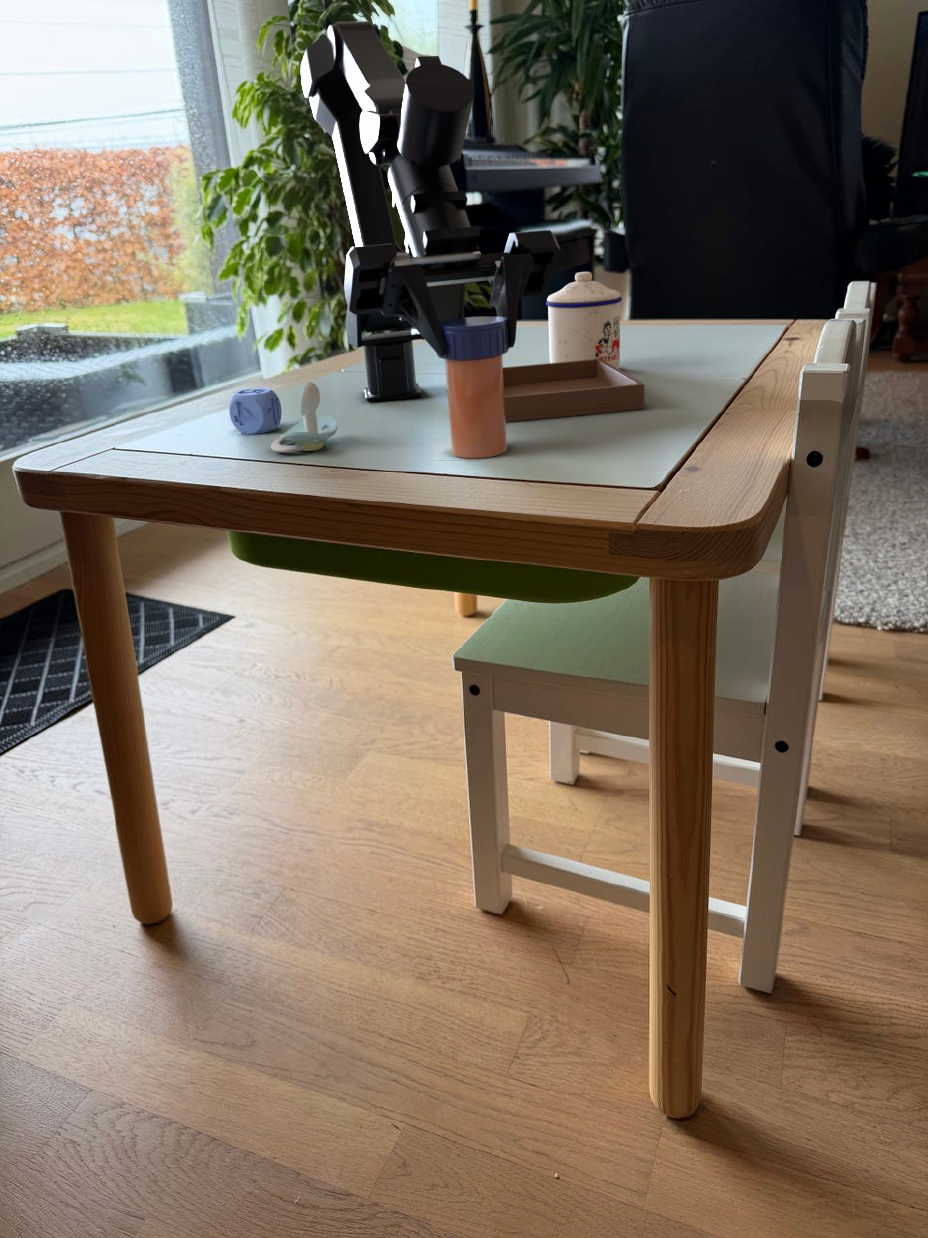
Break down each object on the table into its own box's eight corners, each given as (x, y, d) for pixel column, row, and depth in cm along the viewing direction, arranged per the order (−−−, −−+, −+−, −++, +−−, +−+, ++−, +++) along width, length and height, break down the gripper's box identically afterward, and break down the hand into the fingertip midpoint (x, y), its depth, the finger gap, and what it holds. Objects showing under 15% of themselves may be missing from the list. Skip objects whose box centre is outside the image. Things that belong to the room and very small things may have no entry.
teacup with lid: (609, 379, 112) (608, 275, 108) (537, 377, 116) (534, 277, 111) (636, 361, 122) (637, 265, 117) (570, 360, 126) (568, 267, 121)
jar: (448, 447, 88) (439, 325, 83) (502, 441, 88) (495, 320, 84) (455, 460, 83) (446, 332, 79) (511, 455, 84) (505, 327, 79)
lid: (514, 355, 80) (513, 322, 78) (441, 362, 79) (438, 329, 78) (502, 345, 85) (500, 313, 84) (433, 351, 85) (431, 320, 84)
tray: (474, 391, 111) (472, 369, 110) (600, 379, 112) (600, 358, 111) (497, 422, 95) (496, 398, 94) (644, 408, 97) (644, 384, 96)
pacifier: (261, 459, 89) (323, 455, 88) (249, 392, 86) (312, 387, 85) (287, 440, 95) (344, 436, 94) (275, 377, 93) (334, 372, 92)
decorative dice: (266, 434, 98) (260, 395, 96) (232, 434, 99) (225, 395, 97) (284, 425, 101) (278, 387, 100) (251, 425, 102) (245, 387, 101)
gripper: (507, 263, 96) (554, 391, 90) (325, 281, 91) (364, 417, 86) (534, 174, 85) (588, 313, 80) (331, 188, 81) (375, 337, 75)
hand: (478, 348), depth 81 cm, fingers closed on lid, 6 cm apart
